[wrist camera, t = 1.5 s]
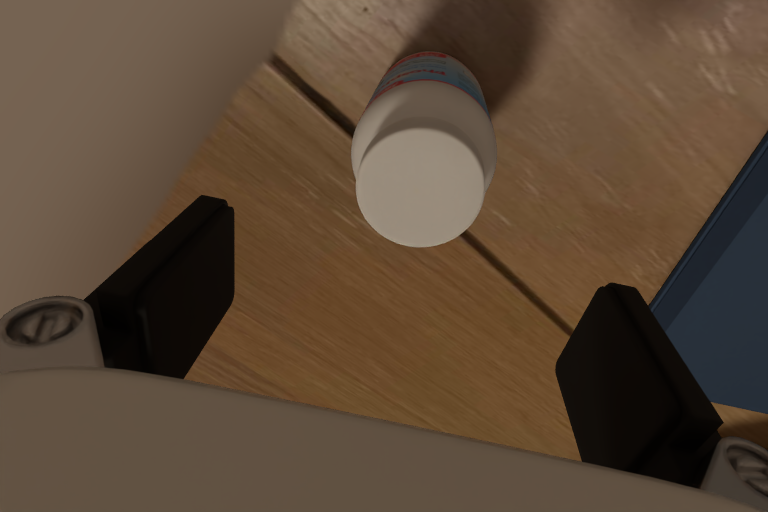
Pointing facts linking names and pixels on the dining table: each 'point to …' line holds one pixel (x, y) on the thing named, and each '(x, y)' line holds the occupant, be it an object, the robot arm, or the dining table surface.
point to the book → (725, 295)
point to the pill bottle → (424, 151)
